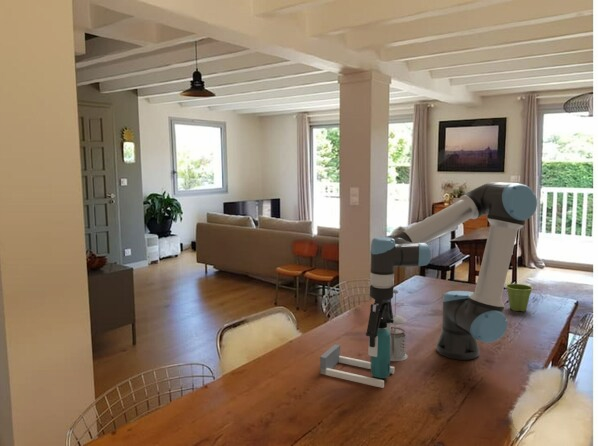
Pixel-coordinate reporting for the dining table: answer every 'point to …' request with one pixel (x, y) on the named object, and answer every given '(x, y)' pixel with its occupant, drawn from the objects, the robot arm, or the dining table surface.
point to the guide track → (333, 358)
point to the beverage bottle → (382, 353)
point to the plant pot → (518, 296)
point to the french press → (397, 338)
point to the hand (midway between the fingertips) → (379, 348)
